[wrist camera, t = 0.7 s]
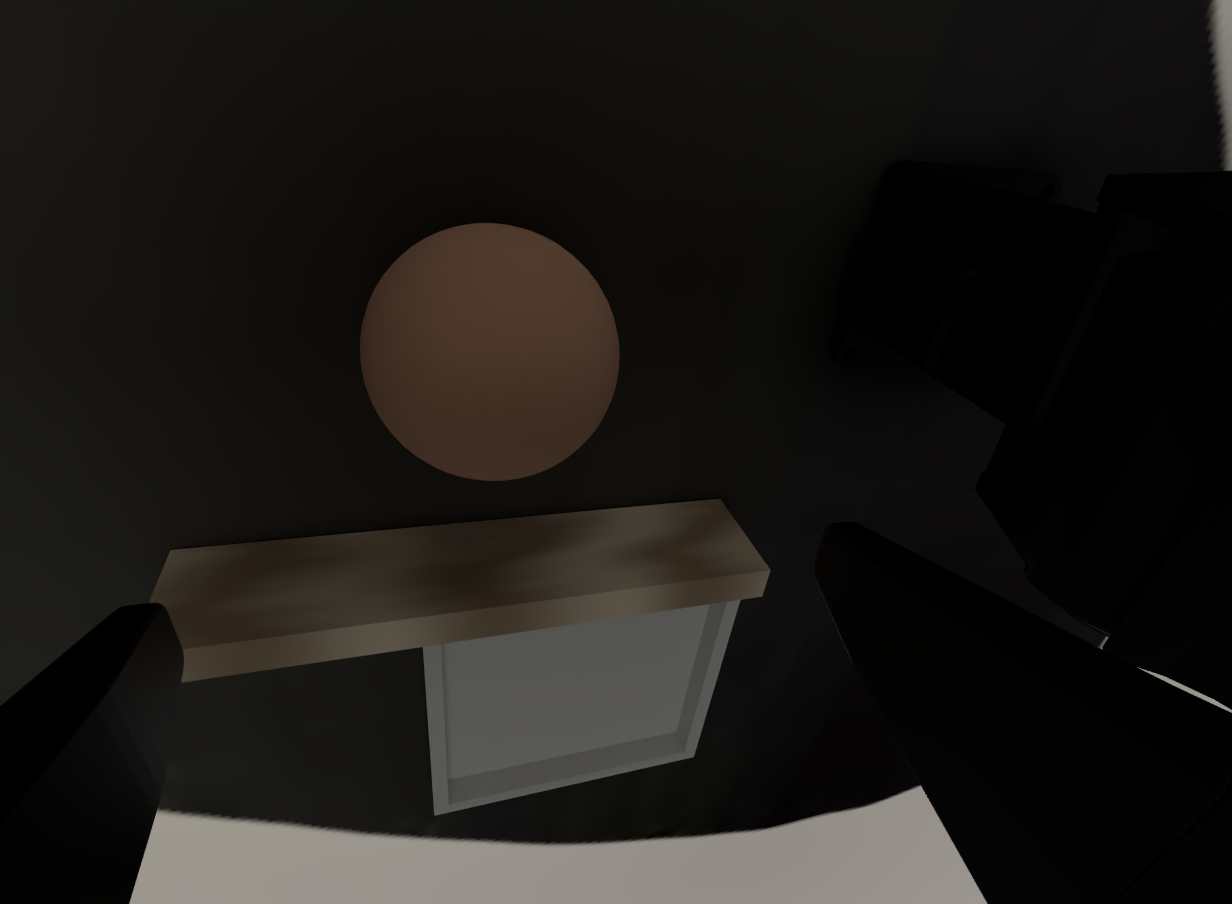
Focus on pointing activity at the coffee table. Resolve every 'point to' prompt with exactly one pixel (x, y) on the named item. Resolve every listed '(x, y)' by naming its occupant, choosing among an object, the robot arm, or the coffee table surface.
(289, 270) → the coffee table surface
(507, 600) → the rail
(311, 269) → the coffee table surface
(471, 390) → the ball
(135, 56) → the coffee table surface
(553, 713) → the coaster tray
